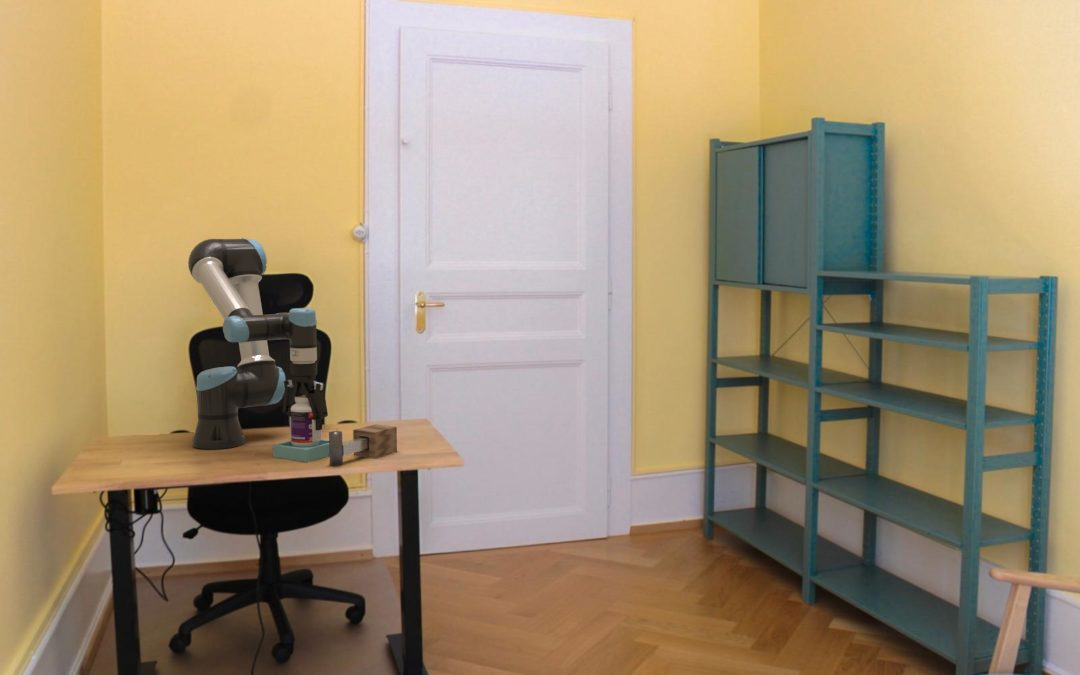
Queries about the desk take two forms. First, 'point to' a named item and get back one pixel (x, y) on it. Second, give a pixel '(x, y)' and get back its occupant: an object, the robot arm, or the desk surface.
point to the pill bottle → (302, 423)
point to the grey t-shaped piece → (344, 447)
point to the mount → (377, 440)
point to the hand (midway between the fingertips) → (305, 439)
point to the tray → (301, 451)
